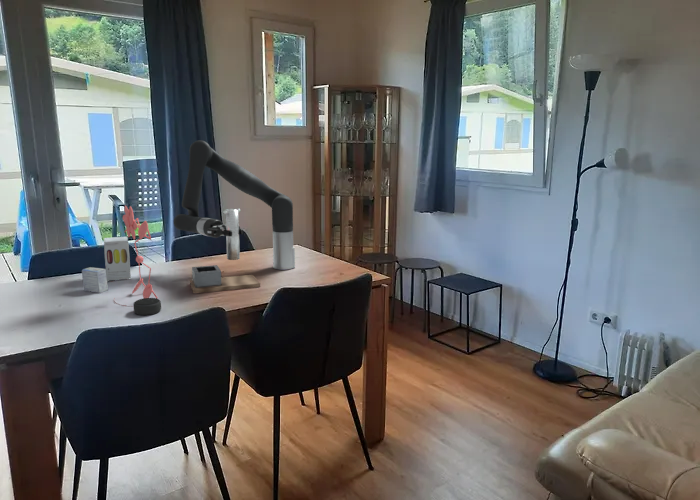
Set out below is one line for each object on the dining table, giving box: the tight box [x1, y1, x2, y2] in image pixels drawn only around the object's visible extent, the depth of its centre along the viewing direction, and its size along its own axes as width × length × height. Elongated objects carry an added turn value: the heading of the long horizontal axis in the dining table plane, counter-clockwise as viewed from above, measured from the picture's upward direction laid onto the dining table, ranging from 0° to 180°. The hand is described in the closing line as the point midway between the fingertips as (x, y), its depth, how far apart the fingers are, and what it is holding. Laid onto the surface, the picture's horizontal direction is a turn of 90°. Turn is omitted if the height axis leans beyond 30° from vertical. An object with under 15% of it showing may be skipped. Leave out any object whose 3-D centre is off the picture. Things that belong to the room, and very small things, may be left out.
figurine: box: [113, 205, 159, 307], centre depth 192 cm, size 15×26×35 cm, turn 38°
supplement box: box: [103, 236, 132, 282], centre depth 222 cm, size 10×9×17 cm
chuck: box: [191, 264, 222, 288], centre depth 211 cm, size 10×10×6 cm
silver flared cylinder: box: [222, 208, 241, 261], centre depth 211 cm, size 8×5×20 cm, turn 142°
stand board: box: [189, 274, 261, 294], centre depth 214 cm, size 26×14×2 cm, turn 112°
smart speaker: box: [132, 297, 162, 316], centre depth 182 cm, size 9×9×4 cm
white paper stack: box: [81, 266, 109, 294], centre depth 205 cm, size 8×4×9 cm, turn 71°
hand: (236, 232), depth 210 cm, fingers closed on silver flared cylinder, 5 cm apart
